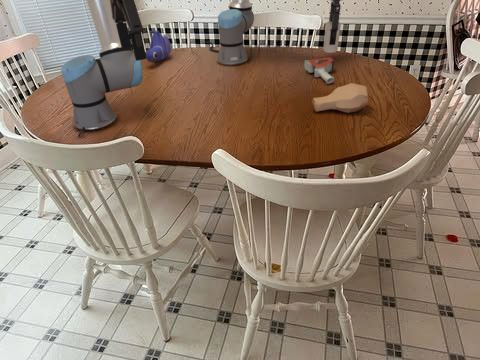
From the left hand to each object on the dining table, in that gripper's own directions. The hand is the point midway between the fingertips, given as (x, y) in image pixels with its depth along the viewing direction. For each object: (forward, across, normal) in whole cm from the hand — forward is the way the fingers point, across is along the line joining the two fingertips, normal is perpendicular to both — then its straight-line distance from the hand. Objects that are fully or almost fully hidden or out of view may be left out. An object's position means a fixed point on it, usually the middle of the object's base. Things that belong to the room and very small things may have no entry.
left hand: (133, 53), depth 97 cm
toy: (+31, +86, -32) cm, 97 cm away
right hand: (+23, +34, -104) cm, 112 cm away
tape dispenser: (+31, +19, -85) cm, 92 cm away
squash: (+31, -12, -67) cm, 75 cm away
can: (+27, +35, -104) cm, 113 cm away
